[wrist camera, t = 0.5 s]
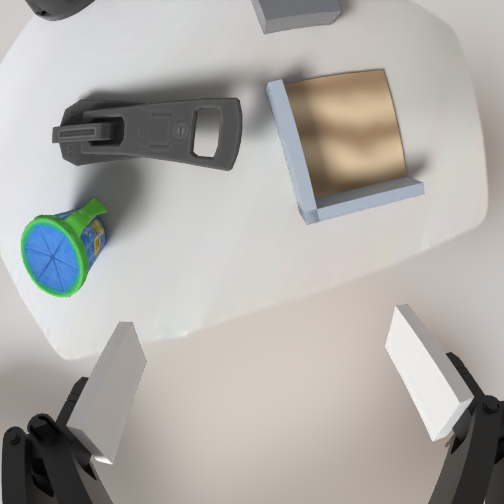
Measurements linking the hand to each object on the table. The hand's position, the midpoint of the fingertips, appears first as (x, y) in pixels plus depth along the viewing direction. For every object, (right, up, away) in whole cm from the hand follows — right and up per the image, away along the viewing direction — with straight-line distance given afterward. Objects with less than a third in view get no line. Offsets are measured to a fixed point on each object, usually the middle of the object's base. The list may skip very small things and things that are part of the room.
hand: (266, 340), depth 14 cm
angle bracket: (+4, +36, +12) cm, 38 cm away
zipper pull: (-14, +20, +19) cm, 31 cm away
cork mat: (+11, +20, +20) cm, 30 cm away
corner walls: (+11, +19, +20) cm, 29 cm away
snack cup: (-25, +7, +24) cm, 36 cm away
